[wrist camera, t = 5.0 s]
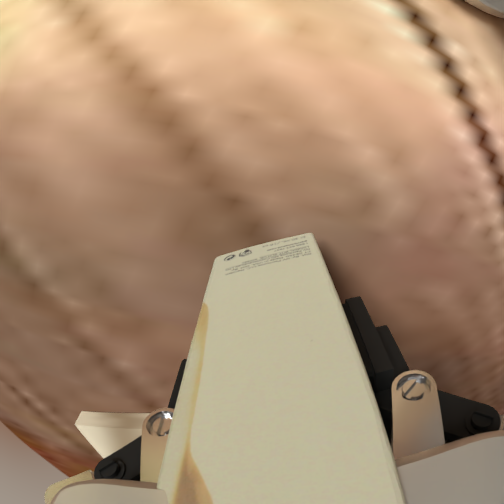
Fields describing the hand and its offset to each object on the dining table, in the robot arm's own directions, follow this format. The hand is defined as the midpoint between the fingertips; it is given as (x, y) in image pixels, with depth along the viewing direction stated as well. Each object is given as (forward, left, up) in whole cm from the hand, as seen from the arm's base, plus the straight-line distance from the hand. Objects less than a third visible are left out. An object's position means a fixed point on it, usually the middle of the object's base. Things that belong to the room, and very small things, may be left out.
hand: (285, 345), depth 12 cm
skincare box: (0, 0, -3) cm, 3 cm away
